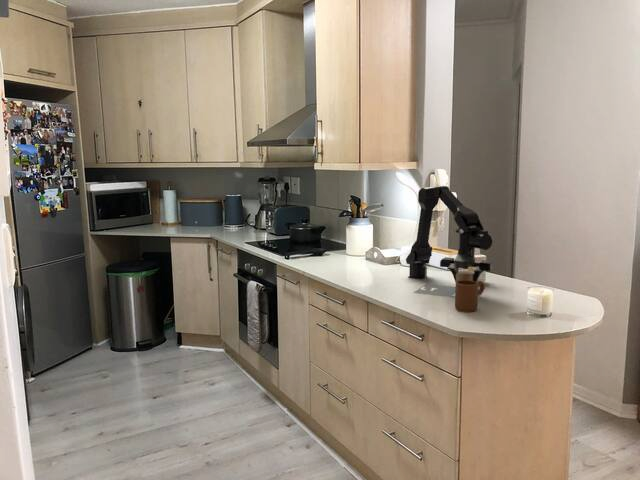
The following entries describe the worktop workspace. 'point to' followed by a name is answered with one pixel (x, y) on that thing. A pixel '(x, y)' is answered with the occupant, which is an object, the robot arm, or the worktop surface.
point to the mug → (467, 295)
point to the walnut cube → (465, 275)
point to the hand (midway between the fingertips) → (465, 286)
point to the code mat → (437, 290)
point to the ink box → (478, 259)
